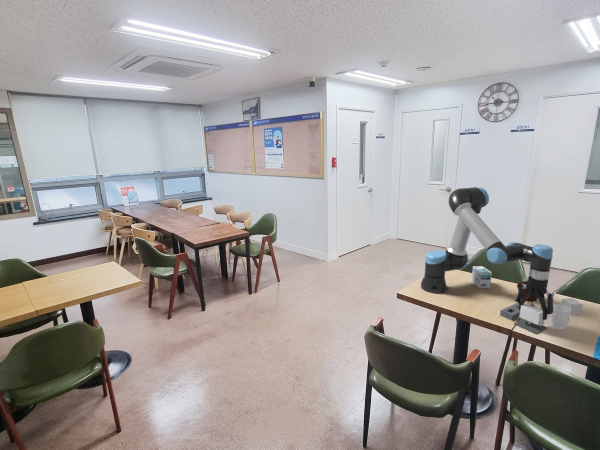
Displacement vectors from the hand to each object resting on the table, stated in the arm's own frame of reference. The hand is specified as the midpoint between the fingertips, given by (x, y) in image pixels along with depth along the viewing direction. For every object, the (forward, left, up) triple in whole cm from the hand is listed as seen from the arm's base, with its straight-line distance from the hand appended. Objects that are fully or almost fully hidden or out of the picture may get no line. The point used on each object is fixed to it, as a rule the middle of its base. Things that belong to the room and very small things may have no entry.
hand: (531, 320), depth 155 cm
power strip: (-10, +11, -3) cm, 16 cm away
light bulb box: (-41, +25, -3) cm, 49 cm away
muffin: (-16, +30, -3) cm, 34 cm away
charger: (0, 0, -1) cm, 1 cm away
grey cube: (+3, +33, -3) cm, 33 cm away
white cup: (+7, +11, -3) cm, 13 cm away
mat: (0, 0, -3) cm, 3 cm away
